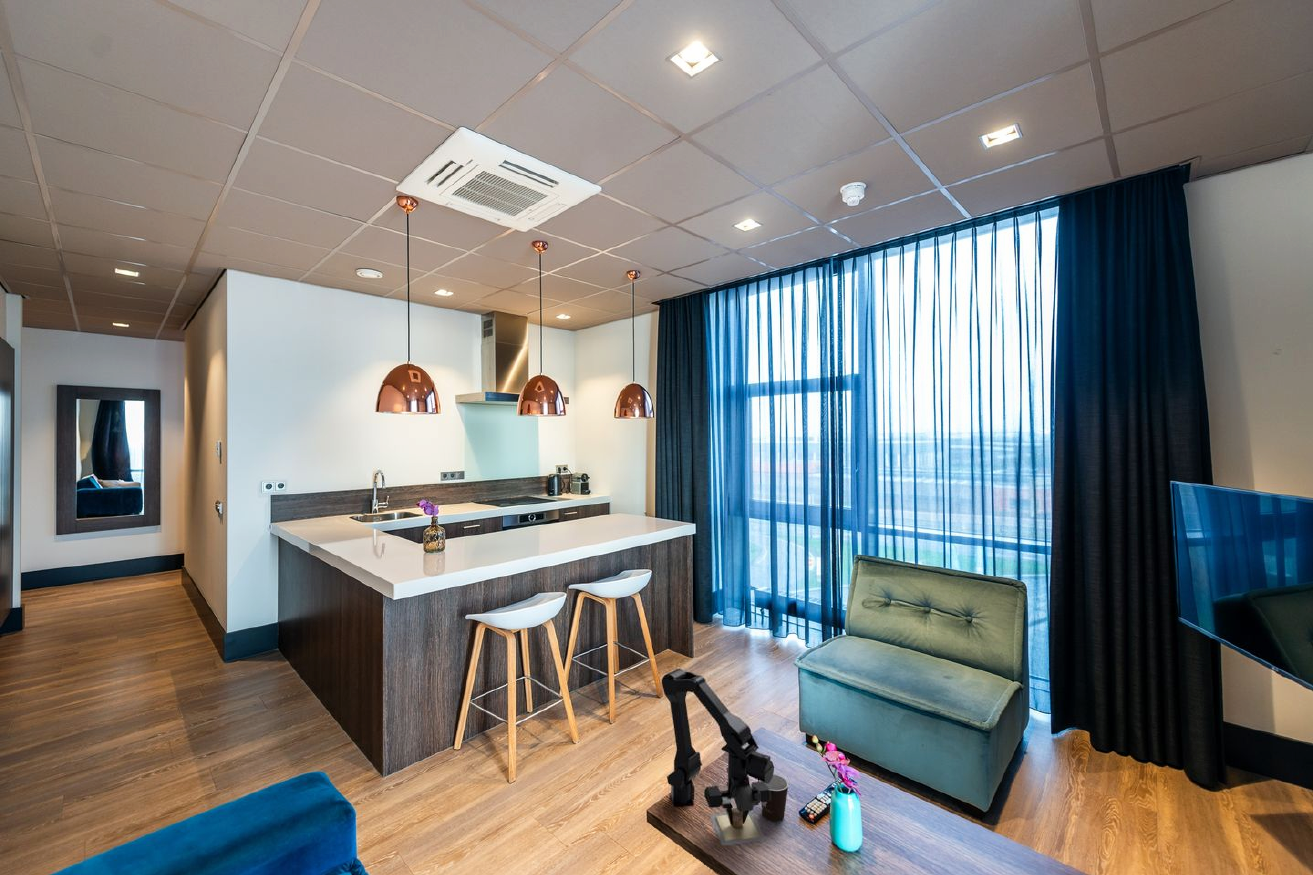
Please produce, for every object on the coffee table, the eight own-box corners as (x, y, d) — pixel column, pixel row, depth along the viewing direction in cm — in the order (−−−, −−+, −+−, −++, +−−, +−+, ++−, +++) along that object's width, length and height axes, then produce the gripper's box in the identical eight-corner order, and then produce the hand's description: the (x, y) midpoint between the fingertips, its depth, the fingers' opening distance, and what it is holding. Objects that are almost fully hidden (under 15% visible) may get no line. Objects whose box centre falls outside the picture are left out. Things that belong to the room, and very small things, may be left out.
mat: (722, 846, 153) (722, 845, 153) (709, 815, 165) (709, 814, 165) (766, 841, 155) (766, 839, 155) (750, 811, 168) (750, 810, 168)
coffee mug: (790, 825, 162) (791, 791, 162) (761, 824, 162) (761, 790, 162) (782, 800, 173) (782, 768, 174) (755, 799, 173) (755, 767, 174)
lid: (726, 841, 154) (726, 824, 154) (715, 817, 164) (715, 802, 164) (759, 836, 156) (759, 820, 156) (747, 814, 166) (747, 798, 166)
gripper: (715, 788, 151) (714, 846, 151) (778, 782, 154) (778, 839, 154) (704, 766, 162) (703, 820, 161) (763, 760, 165) (763, 813, 165)
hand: (737, 823), depth 160 cm, fingers open, 3 cm apart
